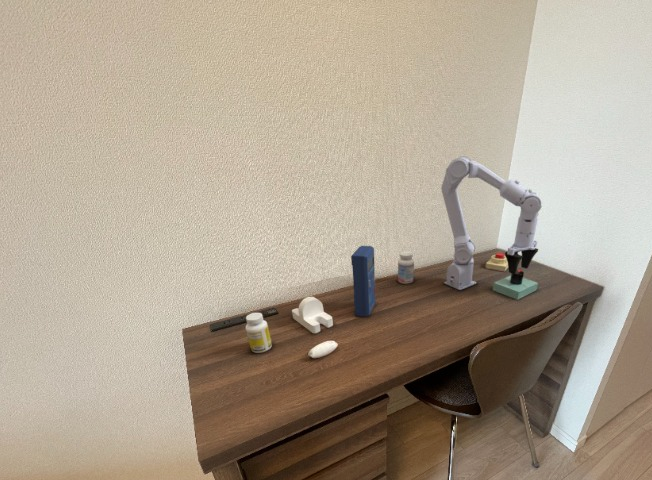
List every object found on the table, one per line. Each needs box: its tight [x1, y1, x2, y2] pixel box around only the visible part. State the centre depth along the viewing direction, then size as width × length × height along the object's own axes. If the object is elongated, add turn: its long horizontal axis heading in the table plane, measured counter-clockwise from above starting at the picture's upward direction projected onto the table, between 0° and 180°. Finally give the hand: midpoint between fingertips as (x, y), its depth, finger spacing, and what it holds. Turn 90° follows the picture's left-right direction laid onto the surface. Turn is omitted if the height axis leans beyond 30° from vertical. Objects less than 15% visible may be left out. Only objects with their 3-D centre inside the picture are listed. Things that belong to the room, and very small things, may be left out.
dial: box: [510, 269, 525, 285], centre depth 113 cm, size 4×4×4 cm
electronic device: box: [350, 245, 376, 317], centre depth 100 cm, size 10×5×20 cm, turn 168°
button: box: [494, 252, 505, 259], centre depth 135 cm, size 4×4×2 cm
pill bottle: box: [397, 251, 415, 285], centre depth 121 cm, size 6×6×11 cm
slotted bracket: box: [291, 296, 334, 334], centre depth 96 cm, size 13×7×8 cm, turn 42°
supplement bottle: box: [245, 312, 273, 354], centre depth 84 cm, size 5×5×10 cm
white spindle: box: [307, 340, 339, 359], centre depth 83 cm, size 3×8×3 cm, turn 131°
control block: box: [485, 254, 509, 272], centre depth 136 cm, size 10×8×4 cm
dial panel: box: [492, 275, 539, 301], centre depth 115 cm, size 12×10×3 cm
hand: (518, 270), depth 112 cm, fingers open, 7 cm apart
